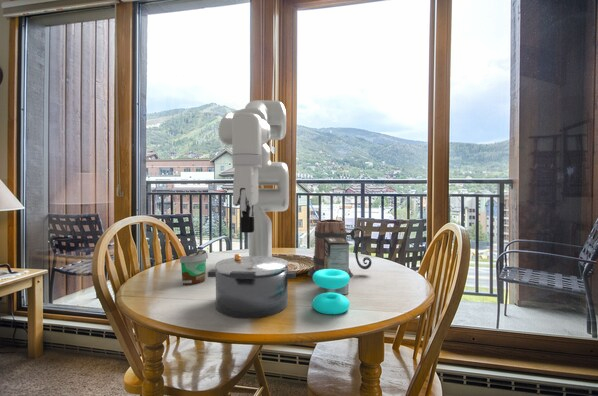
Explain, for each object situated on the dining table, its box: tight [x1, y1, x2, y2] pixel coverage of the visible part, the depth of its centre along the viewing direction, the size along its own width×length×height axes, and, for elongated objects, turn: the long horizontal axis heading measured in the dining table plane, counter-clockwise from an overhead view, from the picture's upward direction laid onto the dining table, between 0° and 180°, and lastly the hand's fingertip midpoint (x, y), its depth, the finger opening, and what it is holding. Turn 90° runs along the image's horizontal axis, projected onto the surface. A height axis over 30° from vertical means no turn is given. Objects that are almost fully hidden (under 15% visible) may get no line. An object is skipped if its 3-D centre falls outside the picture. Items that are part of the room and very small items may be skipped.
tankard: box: [307, 219, 373, 279], centre depth 123 cm, size 24×17×20 cm
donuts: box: [312, 269, 351, 315], centre depth 89 cm, size 10×10×10 cm
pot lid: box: [215, 253, 289, 278], centre depth 92 cm, size 22×20×3 cm
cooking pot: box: [207, 268, 297, 319], centre depth 93 cm, size 20×24×10 cm
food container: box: [179, 248, 209, 286], centre depth 113 cm, size 12×6×10 cm, turn 168°
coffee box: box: [324, 238, 350, 295], centre depth 105 cm, size 9×6×16 cm
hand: (247, 231), depth 87 cm, fingers closed
